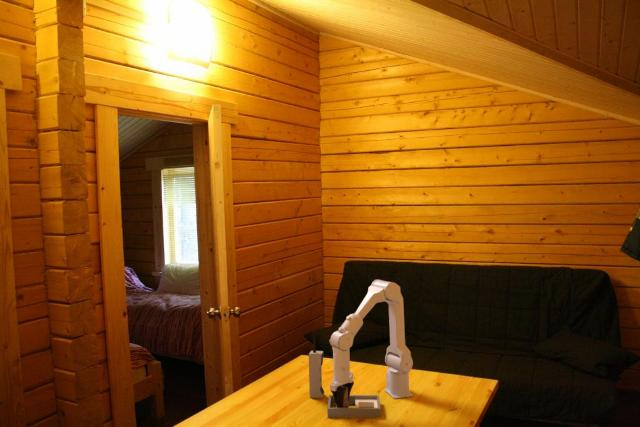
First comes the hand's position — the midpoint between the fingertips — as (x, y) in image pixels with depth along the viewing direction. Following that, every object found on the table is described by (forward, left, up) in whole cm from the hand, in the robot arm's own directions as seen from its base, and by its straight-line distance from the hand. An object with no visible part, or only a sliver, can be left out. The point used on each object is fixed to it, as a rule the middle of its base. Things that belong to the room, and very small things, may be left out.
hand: (342, 404), depth 182 cm
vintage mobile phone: (-15, -5, -2) cm, 16 cm away
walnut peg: (0, 0, -2) cm, 2 cm away
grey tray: (+1, +4, -2) cm, 4 cm away
